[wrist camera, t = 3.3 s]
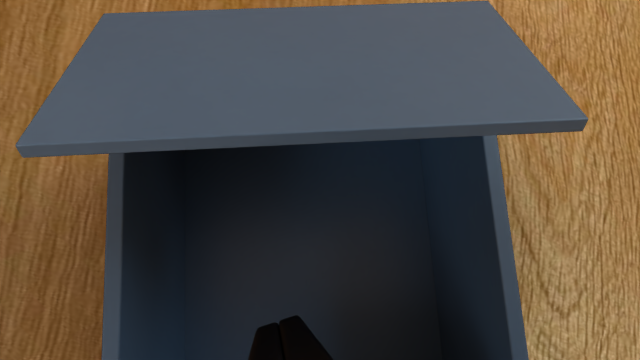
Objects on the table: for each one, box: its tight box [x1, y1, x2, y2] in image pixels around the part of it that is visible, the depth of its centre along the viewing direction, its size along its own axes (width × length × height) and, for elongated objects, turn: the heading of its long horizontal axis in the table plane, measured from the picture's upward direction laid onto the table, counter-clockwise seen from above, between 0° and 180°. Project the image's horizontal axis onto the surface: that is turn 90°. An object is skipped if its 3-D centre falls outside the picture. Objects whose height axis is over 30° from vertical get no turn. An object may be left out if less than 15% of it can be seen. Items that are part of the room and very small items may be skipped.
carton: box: [102, 135, 529, 360], centre depth 17 cm, size 13×12×8 cm
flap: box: [16, 1, 588, 158], centre depth 12 cm, size 6×12×1 cm
